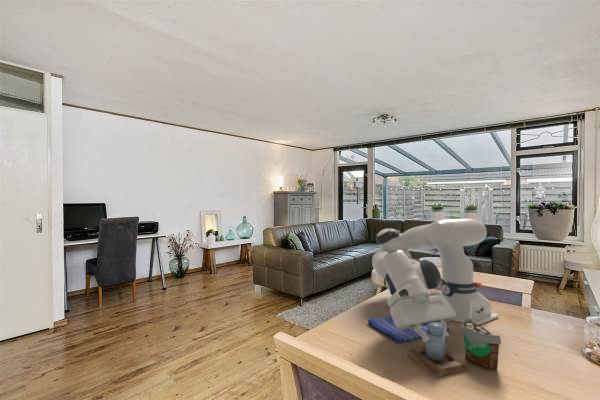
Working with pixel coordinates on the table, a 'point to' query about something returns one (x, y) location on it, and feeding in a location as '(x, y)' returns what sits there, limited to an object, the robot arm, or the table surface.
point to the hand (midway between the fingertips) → (437, 339)
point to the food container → (480, 345)
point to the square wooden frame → (438, 362)
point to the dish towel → (395, 329)
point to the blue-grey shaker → (435, 341)
